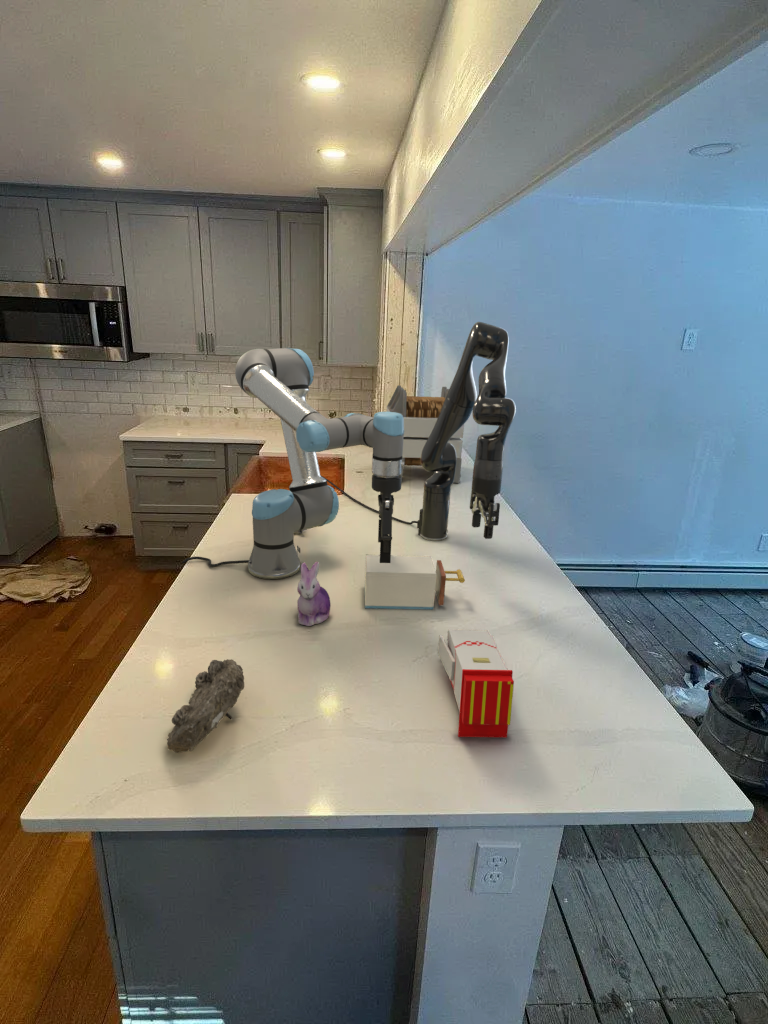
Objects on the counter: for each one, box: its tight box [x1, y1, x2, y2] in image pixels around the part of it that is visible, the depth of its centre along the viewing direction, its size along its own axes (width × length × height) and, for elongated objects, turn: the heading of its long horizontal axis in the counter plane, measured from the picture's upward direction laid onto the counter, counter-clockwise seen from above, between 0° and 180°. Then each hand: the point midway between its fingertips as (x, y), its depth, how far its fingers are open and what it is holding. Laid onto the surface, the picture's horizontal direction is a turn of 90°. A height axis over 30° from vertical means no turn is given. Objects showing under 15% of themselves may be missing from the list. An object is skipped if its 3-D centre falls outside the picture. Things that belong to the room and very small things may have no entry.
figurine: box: [297, 561, 331, 627], centre depth 141 cm, size 9×10×15 cm
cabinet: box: [364, 554, 436, 610], centre depth 153 cm, size 18×11×11 cm, turn 92°
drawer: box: [435, 559, 466, 606], centre depth 154 cm, size 23×10×9 cm, turn 92°
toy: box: [437, 628, 515, 738], centre depth 117 cm, size 12×13×30 cm
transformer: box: [386, 384, 465, 484], centre depth 268 cm, size 34×33×41 cm
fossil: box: [166, 658, 245, 754], centre depth 106 cm, size 22×10×15 cm
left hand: (383, 551), depth 150 cm, fingers open, 13 cm apart
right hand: (481, 532), depth 153 cm, fingers open, 8 cm apart
